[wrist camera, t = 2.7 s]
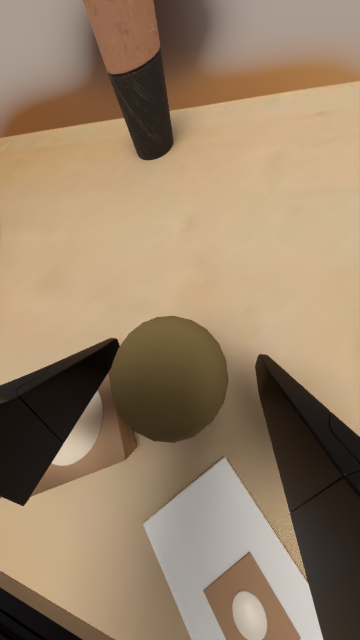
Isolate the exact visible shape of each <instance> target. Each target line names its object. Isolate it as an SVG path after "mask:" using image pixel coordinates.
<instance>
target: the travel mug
mask: <svg viewBox="0 0 360 640" xmlns="http://www.w3.org/2000/svg"><path fill="white" fill-rule="evenodd" d="M83 2H84V5H85V8H86V11H87V14H88V17H89V20H90V23H91V25H92V28H93V31H94V34H95V37H96V39H97V43H98V46H99V49H100V52H101V55H102V57H103V60H104V63H105V66H106V69H107V71H108V75H109V77H110V80H111V83H112V86H113V88H114V91H115V94H116V97H117V99H118V102H119V105H120V108H121V110H122V113H123V116H124V119H125V121H126V124H127V127H128V129H129V132H130V135H131V138H132V140H133V143H134V146H135V148H136V151H137V154H138V156H139V157H140V158H142V159H145V160H151V159H156V158H158V157H161V156H162V155H164V154H165V153H167V152H168V151H169V150H170V148H171V147H172V145H173V136H172V128H171V120H170V113H169V106H168V99H167V92H166V85H165V77H164V69H163V62H162V55H161V49H160V42H159V35H158V29H157V22H156V16H155V10H154V3H153V0H83Z"/></svg>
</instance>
